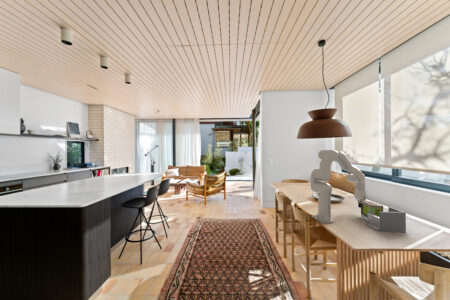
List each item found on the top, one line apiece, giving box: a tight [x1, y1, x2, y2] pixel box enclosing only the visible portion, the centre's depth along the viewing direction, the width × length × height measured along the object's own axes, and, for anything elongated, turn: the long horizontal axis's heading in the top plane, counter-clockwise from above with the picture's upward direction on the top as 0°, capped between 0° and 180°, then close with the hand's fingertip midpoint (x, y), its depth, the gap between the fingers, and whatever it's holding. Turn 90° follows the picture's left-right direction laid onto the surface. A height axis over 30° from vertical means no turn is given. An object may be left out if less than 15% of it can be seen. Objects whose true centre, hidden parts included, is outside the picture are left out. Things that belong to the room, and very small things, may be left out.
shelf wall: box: [379, 206, 407, 233], centre depth 145 cm, size 17×14×14 cm
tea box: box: [360, 200, 384, 222], centre depth 160 cm, size 15×10×15 cm, turn 168°
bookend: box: [364, 213, 381, 232], centre depth 146 cm, size 4×13×9 cm, turn 176°
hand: (360, 207), depth 175 cm, fingers closed
